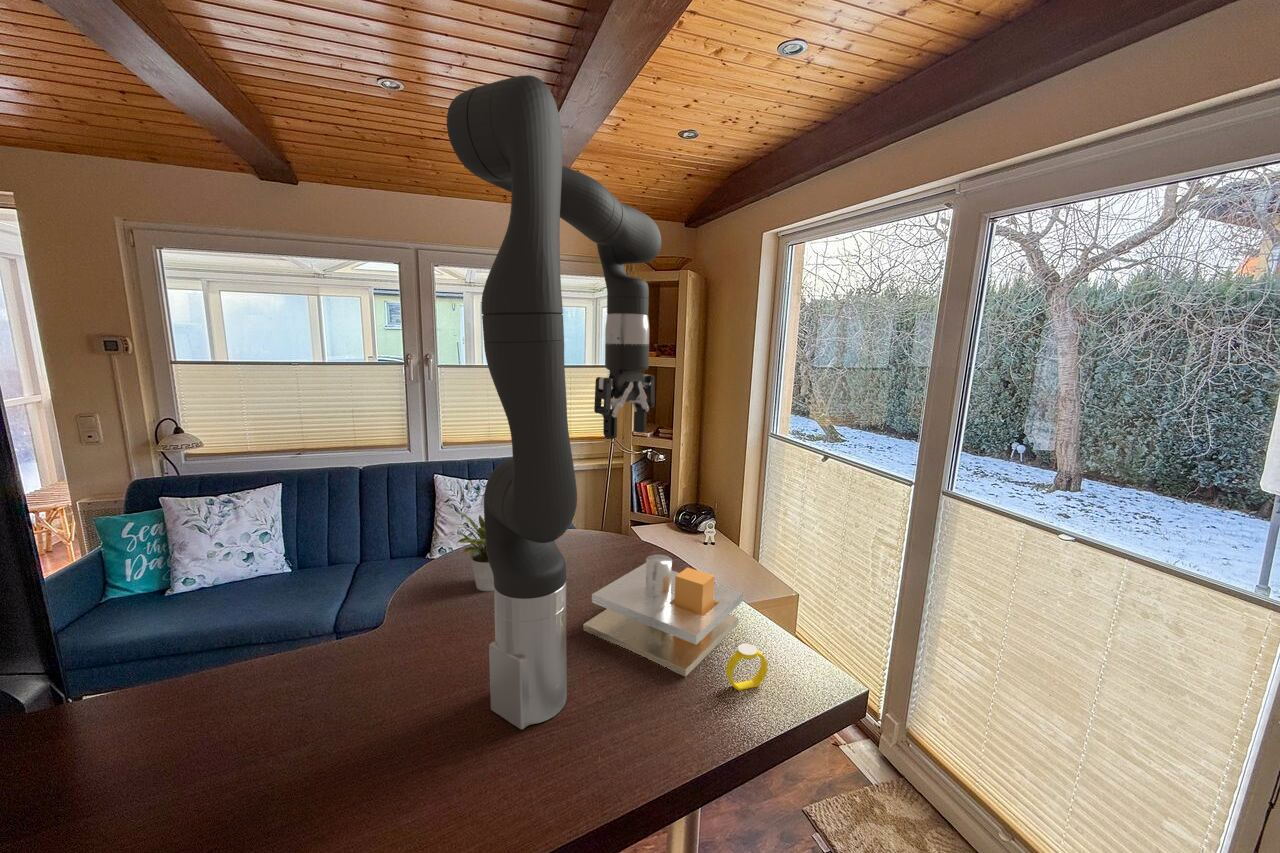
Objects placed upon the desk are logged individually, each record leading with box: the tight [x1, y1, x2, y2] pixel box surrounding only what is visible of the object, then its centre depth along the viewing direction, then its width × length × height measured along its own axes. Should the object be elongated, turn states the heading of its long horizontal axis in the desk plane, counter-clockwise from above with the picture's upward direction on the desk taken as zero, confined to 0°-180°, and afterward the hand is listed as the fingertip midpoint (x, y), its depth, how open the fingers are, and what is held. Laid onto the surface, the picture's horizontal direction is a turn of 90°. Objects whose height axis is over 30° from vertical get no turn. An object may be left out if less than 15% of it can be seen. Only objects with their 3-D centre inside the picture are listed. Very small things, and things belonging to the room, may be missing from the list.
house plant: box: [452, 511, 494, 592], centre depth 101 cm, size 14×14×16 cm
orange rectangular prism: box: [674, 567, 716, 644], centre depth 83 cm, size 4×5×10 cm
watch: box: [725, 643, 768, 692], centre depth 73 cm, size 6×3×6 cm, turn 108°
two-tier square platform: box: [582, 554, 744, 678], centre depth 87 cm, size 18×21×12 cm
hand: (625, 435), depth 90 cm, fingers open, 8 cm apart
